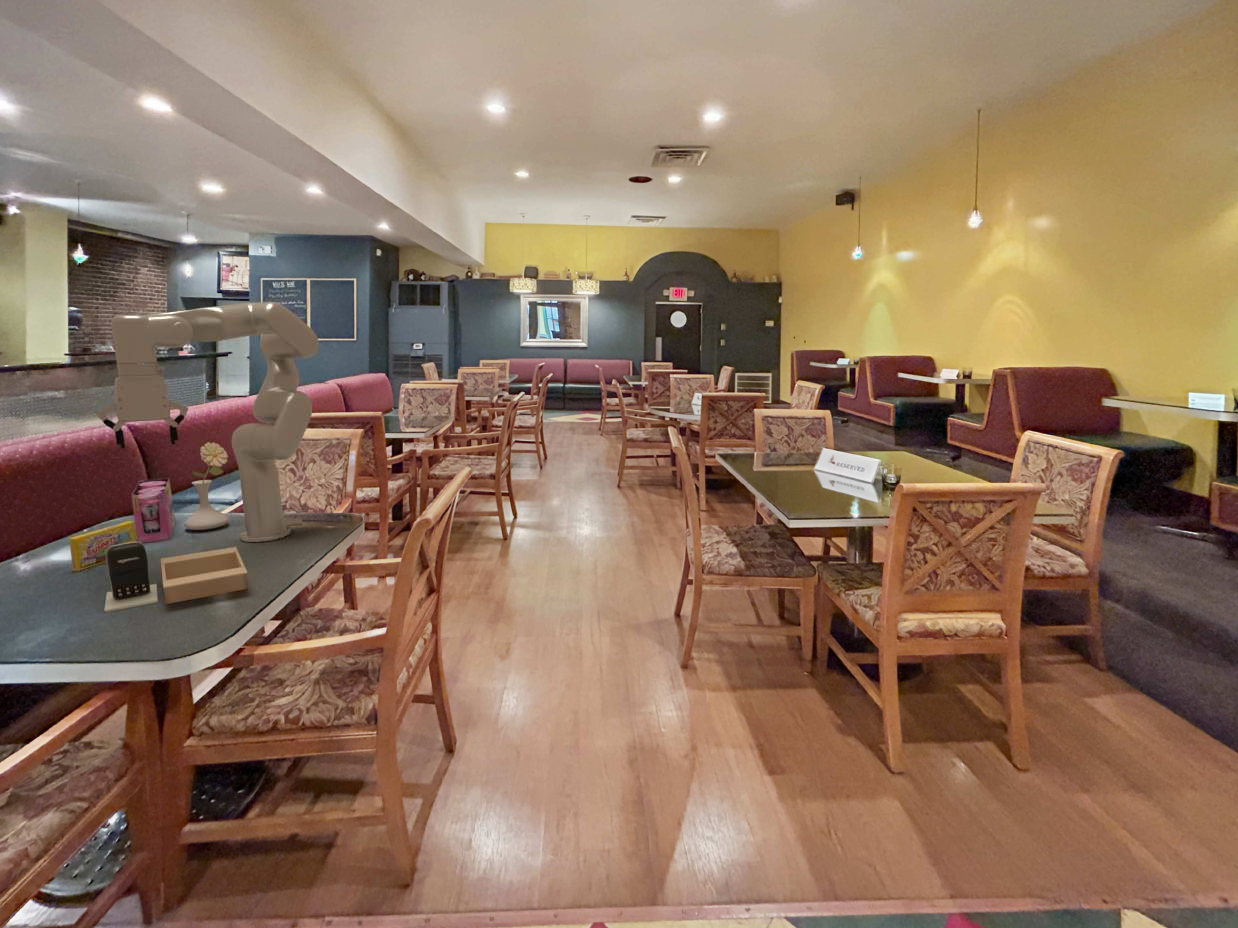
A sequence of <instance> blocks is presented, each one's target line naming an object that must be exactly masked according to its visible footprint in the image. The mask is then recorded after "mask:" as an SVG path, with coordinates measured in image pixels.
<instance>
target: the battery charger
mask: <svg viewBox="0 0 1238 928" xmlns="http://www.w3.org/2000/svg"><path fill="white" fill-rule="evenodd" d="M148 560H149V559H148V556H147V550H146V547H145V545H144V544H143V543H140V542H137V541H136V542H130V543H123V544H118V545H113V546H111V547H109V548H108V549H107V551H106V562H105V563H106V568H107V573H108V577H109V580H110V587H111V592H112V596H113V598H115V599H124V598H129V597H134V596H138V595H143V594H146V593H149V592H150V585H151V584H150V578H149V567H148V566H149V562H148Z"/></svg>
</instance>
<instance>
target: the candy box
mask: <svg viewBox="0 0 1238 928" xmlns="http://www.w3.org/2000/svg"><path fill="white" fill-rule="evenodd" d="M68 541H69V549H70V555H71V557H70V558H71V568H72V571H73V572H80V570H81V571H84V570H87V569H90V568H92V566H93V567H95V565H96V566H99V565H101V564H105V563H106V551H107V549H108V548H109V547H111V546H113V545H118V544H123V543H130V542H137V537H136V529H135V521H130V520H129V521H128V520H127V521H124V522H121V523H117V524H114V525H110V526H108V527H104V528H100V529H96V530H94V531H90V532H86V533H84V534H83V533H82V534H80V535H76V536H72V537H69V540H68ZM89 567H90V568H89ZM86 568H87V569H86ZM83 569H84V570H83Z"/></svg>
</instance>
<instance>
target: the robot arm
mask: <svg viewBox="0 0 1238 928" xmlns="http://www.w3.org/2000/svg"><path fill="white" fill-rule="evenodd" d="M110 325H111V331H112V338H113V344H114V345H113V346H114V351H115V358H116V359H115V360H116V367H117V374H118V377H115V378H114V401H115V402H114V403H112V404H110V405H109V406H107V407H105V408H103V409H100V410H99V411H96V415H97V417H98V418H99V419H100V420H101V421H102V423H103V424H104V425H105V426H107V427H108V428H110V429H111V430H113V431H114V433H115V441H116V445H117V446H119V445H120V449H122V450H123V449H125V448H126V444H125V436H124V430H123V429H122V427H123V426H124V425H125V423H134V422H135V423H136V422H137V423H138V422H150V421H165V422H167V423H168V424H169V426H168V429H169V437H170V443H171V445H176V441H179V437H178V436H179V435H178V428H177V427H178V426H179V425H180V423H182V422H183V421H184V419H185V417H186V416H187V413H188V411H189V407H188V406H186V405H183V404H180V403H177V402H175V401H172V400H169V395H168V388H167V384H166V382H165V379H164V377H163V376H162V375H161V376H160V375H159V373H162V372H166V365H164V364H163V365H162V364H159V363H158V359H157V351H156V349H158V348H159V349H161V348H162V349H170V348H171V349H175V348H176V349H177V348H181V347H184V346H186V345H188V344H189V343H190V342H191V343H192V342H195V343H196V342H197V343H198V342H203V343H205V342H207V343H210V342H223V341H227V340H232V339H233V340H234V339H238V338H245V337H251V336H258V335H260V338H259V345H260V346H259V347H260V349H261V351H262V353H263V357H264V358H265V363H266V366H267V372H266V375H265V378H264V381H263V382H262V385H261V386H260V389H259V391H258V394H257V395H256V398H255V400H254V402H253V406H252V414H253V416H254V417H255V419H257V420H258V421H259V422H261V423H258V422H257V423H251V422H250V423H245V424H242V425H240V426H238V427H237V428H236V429H235V430H234V431H233V433H232V435H231V447H232V450H233V454H234V456H235V460H236V462H237V466H238V474H239V479H240V480H239V481H240V482H239V483H240V490H241V498H242V499H241V500H242V508H243V516H244V524H245V525H244V527H245V531H243V532H241V533H240V535H239V537H240V538H239V539H240V540H241V541H243V542H248V543H260V542H262V541H263V542H270V541H274V540H275V541H276V540H279V538H280V539H282V538H285V536H286V537H287V535H288V536H289V535H290V534H291V527H297V526H303V520H302V518H290V519H286V518H285V516H284V514H283V513H284V512H283V504H282V494H281V484H280V483H281V482H280V474H279V470H278V467H277V464H276V462H275V461H283V460H288V459H290V458H291V457H293V456H294V455H295V453H296V452H297V451H298V449H299V447H300V445H301V442H302V439H303V438H304V435H305V432H306V430H307V428H308V426H309V423H310V421H311V418H312V414H313V403H312V400H311V399H310V397H309V396H308V395H307V394H306V393H305V392H303V391H301V390H298V387H299V384H300V373H299V370H298V368H297V366H296V363H295V362H294V359H309V358H311V357H313V356H315V355H316V354H317V352H318V350H319V348H320V343H319V338H318V336H317V334H316V333H315V332H314V330H313V329H312V328H311V327H310V326H308V324H307V323H305V322H304V321H303V320H302V319H300V318H299V317H298V316H297V315H296V314H295V313H293V311H291V310H290V309H288V308H287V307H285V306H284V305H282V304H281V303H278V302H275V301H261V302H259V301H257V302H244V303H243V302H241V303H234V304H227V305H226V304H225V305H218V306H208V307H200V308H194V309H188V310H181V311H180V310H179V311H171V312H161V313H153V314H145V315H132V314H131V315H130V314H129V315H125V314H124V315H123V314H122V315H115V316H113V317H112V319H111V321H110ZM171 408H174V409H175V410H179V411H180V412H179V414H178V415H177V416H176V417H175V418H174V419H173V418H172V417H171ZM114 411H116V417H117V419H118V420H117V421H116V422H114V421H112V420H111V419H109V417H108V414H110V413H112V412H114Z"/></svg>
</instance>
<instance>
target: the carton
mask: <svg viewBox="0 0 1238 928" xmlns="http://www.w3.org/2000/svg"><path fill="white" fill-rule="evenodd" d="M160 565H161V567H160V568H161V574H162V586H163V593H164V601H165V605H168V604H169V605H170V604H175V603H178V602H179V603H180V602H185V601H190V600H195V599H202V598H205V597H211V596H216V595H217V596H218V595H222V594H228V593H232V592H237V591H243V590H247V589H248V579H247V574H248V573H249V572H248V570H247V568H246V567H245V563H244V562H243V560H242V557H241V555H240V553H239V551H238V549H237V546H233V547H227V548H219V549H214V550H213V549H212V550H208V551H200V552H195V553H188V554H183V555H175V556H170V557H169V556H168V557H163V558H160Z"/></svg>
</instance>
